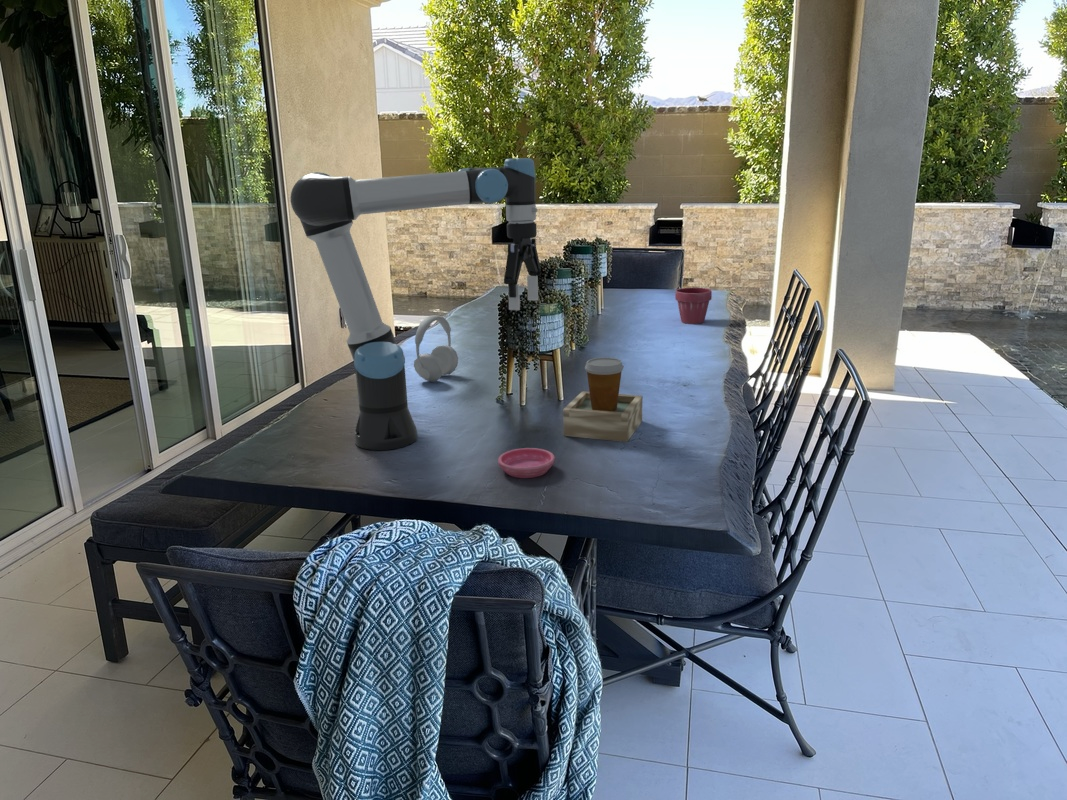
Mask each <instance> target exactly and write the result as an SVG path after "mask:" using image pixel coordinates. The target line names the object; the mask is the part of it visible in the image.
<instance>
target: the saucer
mask: <svg viewBox="0 0 1067 800" xmlns="http://www.w3.org/2000/svg"><path fill="white" fill-rule="evenodd" d="M555 460H556V457H555V455H554V453H553V452H552V451H549V450H547V449H543V448H537V447H524V448H523V447H522V448H514V449H511V450H508V451H506V452H503V453H502V454H500V456H499V457H498V459H497V462H498V466H499V467H500V468H501V469H502V470H503V472H505V473H506V474H507V475H509V476H510V477H513V478H519V479H520V478H521V479H530V478H531V479H532V478H537V477H541V476H543V475H545V474H546V473H547V472H549V470H550V469H551V468H552V466H553V465H554V464H555V462H556V461H555Z"/></svg>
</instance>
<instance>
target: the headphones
mask: <svg viewBox="0 0 1067 800" xmlns="http://www.w3.org/2000/svg"><path fill="white" fill-rule="evenodd" d="M435 321H436V322H438V323H439V324H440V325H441V327H442V328H443V330H444V331H445V333H446V335H447V341H448V342H447V343H448V344H445V345H444V344H443V345H437V346H436V347H435V348H433V349H432V351H431V352H430V353H427V352H426V353H421V354H420V345H421V343H422V342H423V339H424V336H425V334H426V332H427V330H428V328H429V327H430V326H431V324H433V323H434V322H435ZM451 331H452V328H451V326H450V324H449V322H448V320H447V318H445V317H444V316H441V315H437V314H436V315H435V314H434V315H433V314H432V315H429V316H426V317H425V318H423V320H422V321H420V323H419V325H418V327H417V330H416V333H415V338H414V343H415V351H416V359H415V360H414V361H413V367H414V371H415V372H416V374H418V376H419V377H420V378H422V379H424V380H425V381H428V382H431V383H433V382H437V381H439V380H440V379H441V377H442V376H446V375H451V374H453V372H454V371H456V370H457V367H458V363H459V355H458V353H457V351H456V350H455V349H454V348H453V346H452V343H451Z"/></svg>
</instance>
